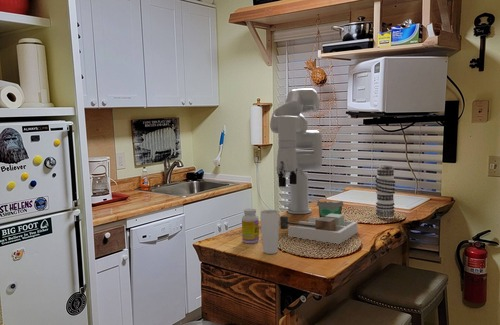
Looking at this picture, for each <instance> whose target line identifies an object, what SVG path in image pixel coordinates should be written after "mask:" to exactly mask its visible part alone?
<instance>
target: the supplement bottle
mask: <svg viewBox="0 0 500 325" xmlns="http://www.w3.org/2000/svg"><path fill="white" fill-rule="evenodd" d="M243 212H244V213H243V216H242V217H241V236H242V237H241V238H242V239H241V240H242V242H243V243H244V242H245V244H255V243H258V242H259V240H260V230H259V228H260V227H259V226H260V225H259V223H260V222H259V216H257V214H256V213H257V209H255V208H245V209H243Z"/></svg>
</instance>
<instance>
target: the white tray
mask: <svg viewBox="0 0 500 325" xmlns="http://www.w3.org/2000/svg"><path fill="white" fill-rule="evenodd" d="M319 218H320V216H319V217H318V216H308V221H303V220H298V223H299V224H307V225H315V220H317V219H319ZM358 227H359V224H358V221H354V220H353V221H352V220H345V219H344V226H338V225H336V232H335V231H327V230H320V229H315V227H307V226H299V225H288V229H287V230H288V237H289V236H293V237H297V238H296V239H299V238H302V239H301V240H306V239H309V240H308V241H312V240H316V241H315V242H319V241H323V242H322V243H326V242H330V243H329V244H332V243H336V244H335V245H339V244H340V243H341V244H343V243H344V242H345V240H346V241H347V240H349V239H350V238H352V237H353V236H355V235H356V234H358V231H359V229H358ZM351 236H352V237H351ZM348 238H349V239H348ZM342 242H343V243H342ZM341 244H340V245H341Z"/></svg>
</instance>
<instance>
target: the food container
mask: <svg viewBox="0 0 500 325" xmlns="http://www.w3.org/2000/svg"><path fill="white" fill-rule="evenodd" d="M316 206H318V213H319V218H321V217H325V216H326V215H328V214H330V213H332V214H341V215H342V210H343V206H344V201H343V200H340V201H338V202H336V201H319V200H317V202H316Z"/></svg>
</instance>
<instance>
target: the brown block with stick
mask: <svg viewBox="0 0 500 325" xmlns="http://www.w3.org/2000/svg"><path fill="white" fill-rule="evenodd" d="M288 219H289V217H288V216H287V215H279V230H280V229H281V230H288V226H289V225H291V226H298V227H299V226H307V227H315V229H320V230H327V231H335V232H336V225H335V219H334V218H326V217H321V218H320V217H319V219H317V220H315V225H307V224H299V222H289V221H288Z"/></svg>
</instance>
